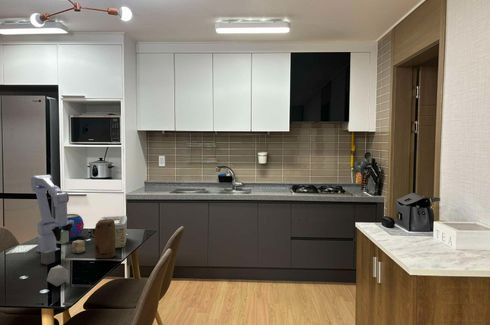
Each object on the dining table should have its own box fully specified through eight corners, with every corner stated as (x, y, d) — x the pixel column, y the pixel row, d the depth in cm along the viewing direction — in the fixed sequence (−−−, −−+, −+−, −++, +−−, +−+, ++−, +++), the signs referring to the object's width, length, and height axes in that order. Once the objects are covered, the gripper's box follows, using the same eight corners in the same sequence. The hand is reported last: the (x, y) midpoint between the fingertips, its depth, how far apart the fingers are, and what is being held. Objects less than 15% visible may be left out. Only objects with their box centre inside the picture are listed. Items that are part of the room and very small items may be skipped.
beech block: (72, 252, 206) (72, 241, 206) (78, 250, 210) (78, 239, 210) (78, 253, 204) (78, 242, 204) (84, 250, 208) (84, 240, 208)
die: (58, 280, 166) (43, 267, 161) (74, 271, 166) (61, 257, 161) (55, 293, 159) (39, 280, 154) (72, 283, 159) (57, 270, 154)
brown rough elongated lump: (116, 254, 202) (115, 218, 201) (114, 258, 195) (113, 221, 194) (95, 255, 200) (94, 219, 199) (93, 259, 193) (92, 222, 191)
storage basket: (125, 248, 214) (125, 223, 213) (96, 250, 210) (95, 225, 209) (128, 237, 237) (127, 215, 236) (101, 239, 233) (100, 216, 232)
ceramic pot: (48, 239, 232) (47, 216, 231) (73, 233, 247) (73, 211, 246) (64, 243, 223) (63, 219, 222) (89, 237, 238) (89, 214, 237)
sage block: (55, 242, 196) (55, 231, 196) (62, 240, 201) (62, 230, 200) (61, 243, 195) (61, 232, 194) (68, 241, 199) (68, 230, 199)
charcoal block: (41, 263, 187) (40, 252, 187) (48, 260, 192) (48, 249, 191) (47, 264, 186) (47, 253, 185) (55, 261, 190) (54, 250, 189)
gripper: (55, 218, 189) (56, 243, 189) (77, 212, 202) (78, 236, 203) (45, 217, 191) (46, 242, 192) (68, 212, 205) (68, 235, 205)
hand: (62, 239), depth 198 cm, fingers closed on sage block, 4 cm apart
